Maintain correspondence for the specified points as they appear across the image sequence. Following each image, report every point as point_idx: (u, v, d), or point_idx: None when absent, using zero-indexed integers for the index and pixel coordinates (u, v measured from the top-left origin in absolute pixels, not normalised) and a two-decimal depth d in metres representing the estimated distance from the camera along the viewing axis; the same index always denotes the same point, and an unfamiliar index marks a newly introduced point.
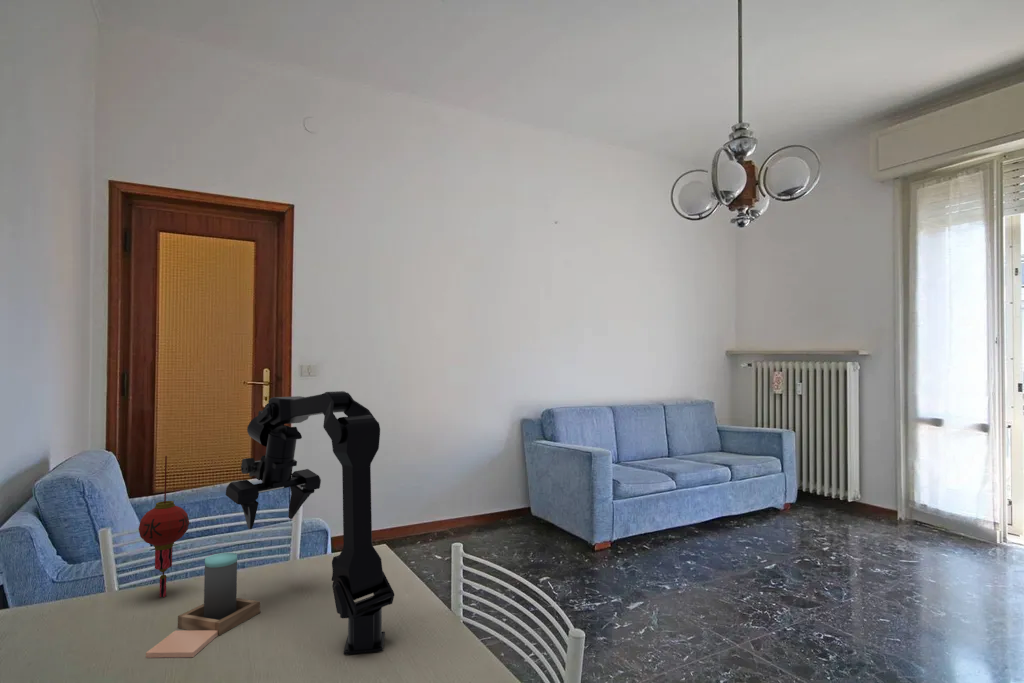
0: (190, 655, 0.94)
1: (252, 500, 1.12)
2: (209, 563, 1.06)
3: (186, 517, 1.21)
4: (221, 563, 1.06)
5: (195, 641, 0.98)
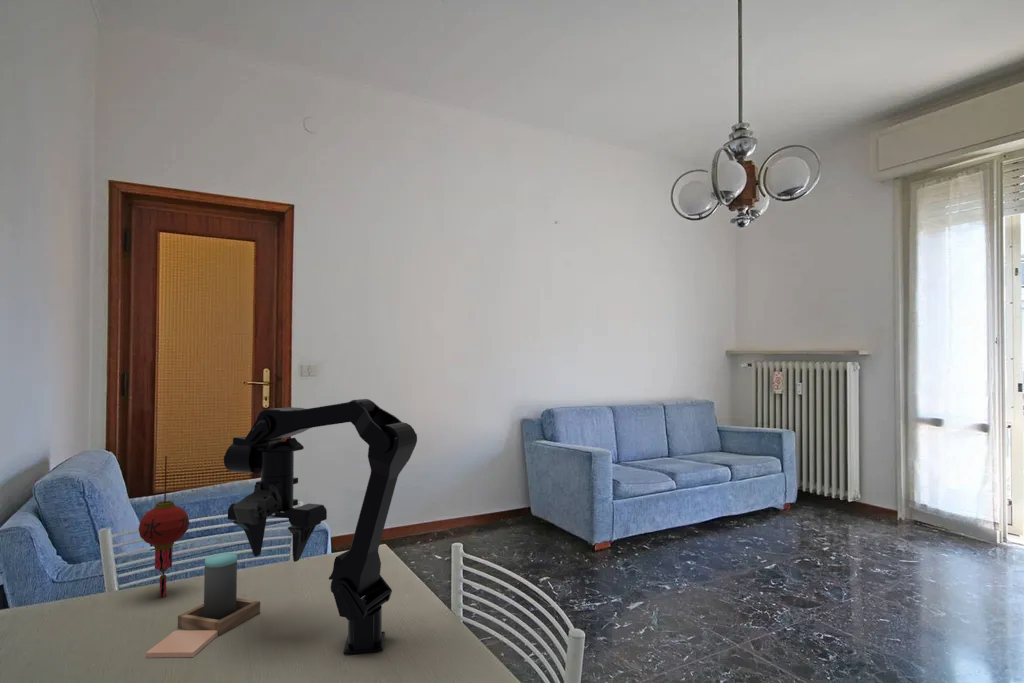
0: (190, 655, 0.94)
1: None
2: (209, 563, 1.06)
3: (186, 517, 1.21)
4: (221, 563, 1.06)
5: (195, 641, 0.98)
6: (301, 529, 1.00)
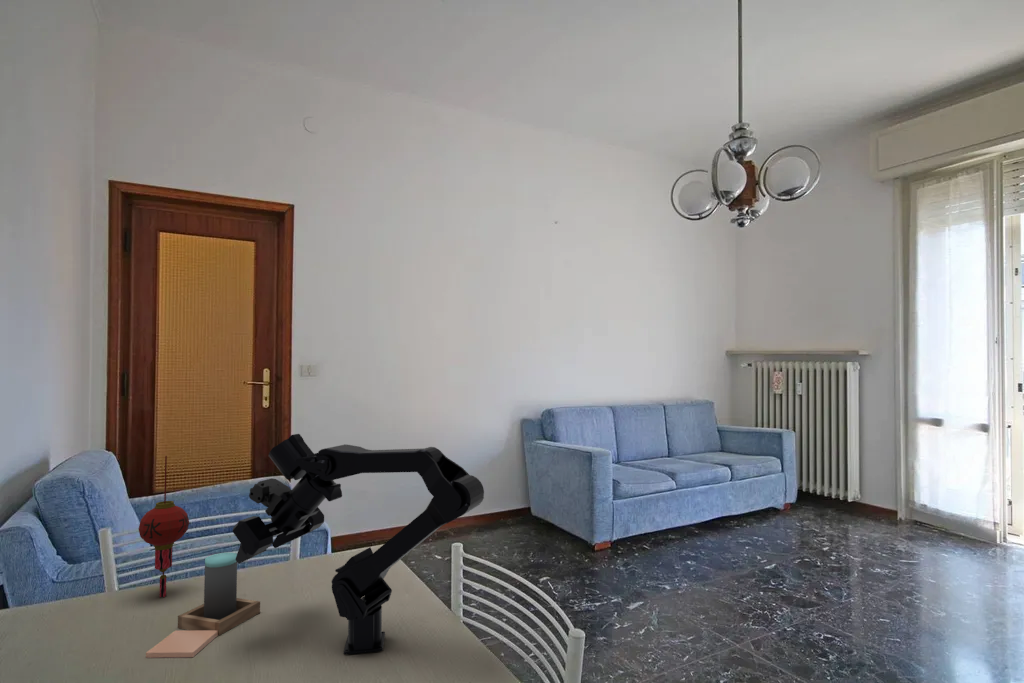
0: (190, 655, 0.94)
1: (263, 549, 0.97)
2: (209, 563, 1.06)
3: (186, 517, 1.21)
4: (221, 563, 1.06)
5: (195, 641, 0.98)
6: None
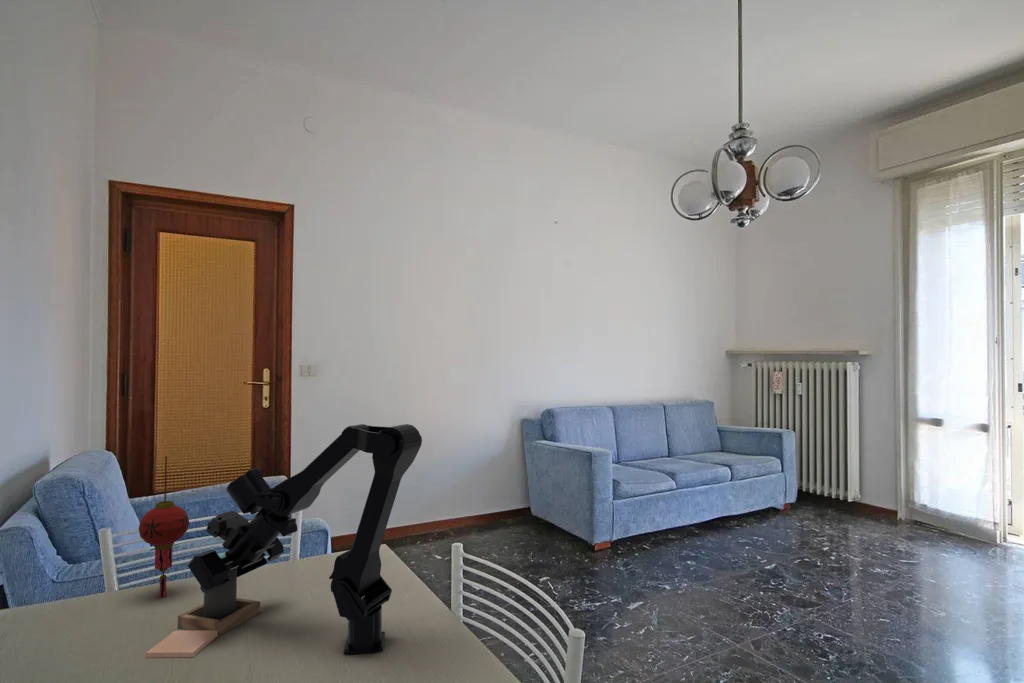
0: (190, 655, 0.94)
1: (218, 584, 1.00)
2: None
3: (186, 517, 1.21)
4: None
5: (195, 641, 0.98)
6: None
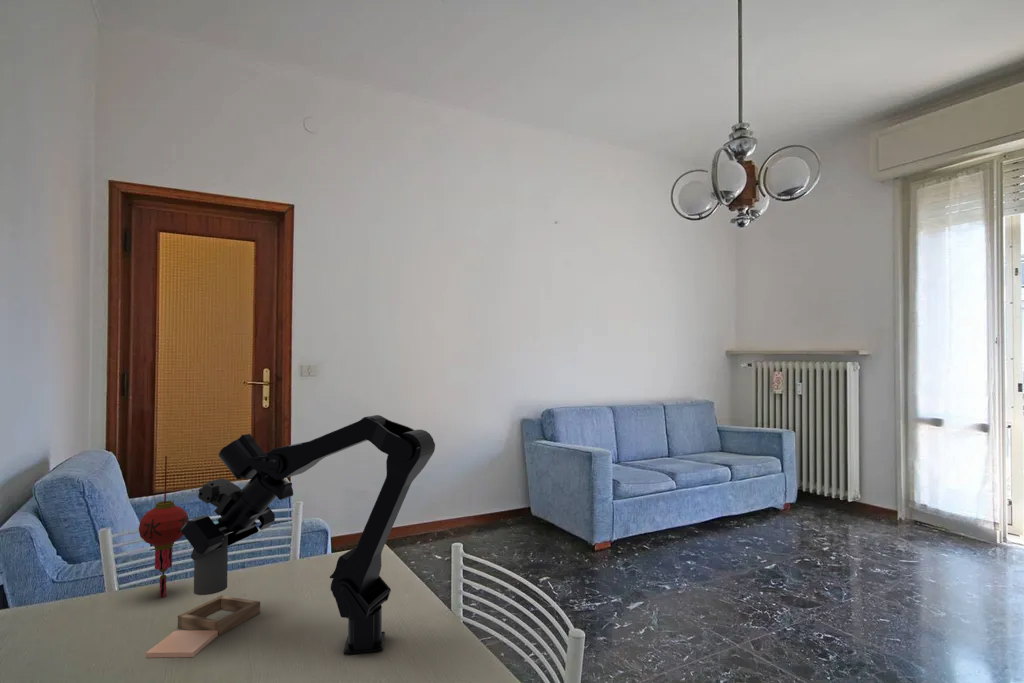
0: (190, 655, 0.94)
1: (213, 549, 0.98)
2: None
3: (186, 517, 1.21)
4: None
5: (195, 641, 0.98)
6: None
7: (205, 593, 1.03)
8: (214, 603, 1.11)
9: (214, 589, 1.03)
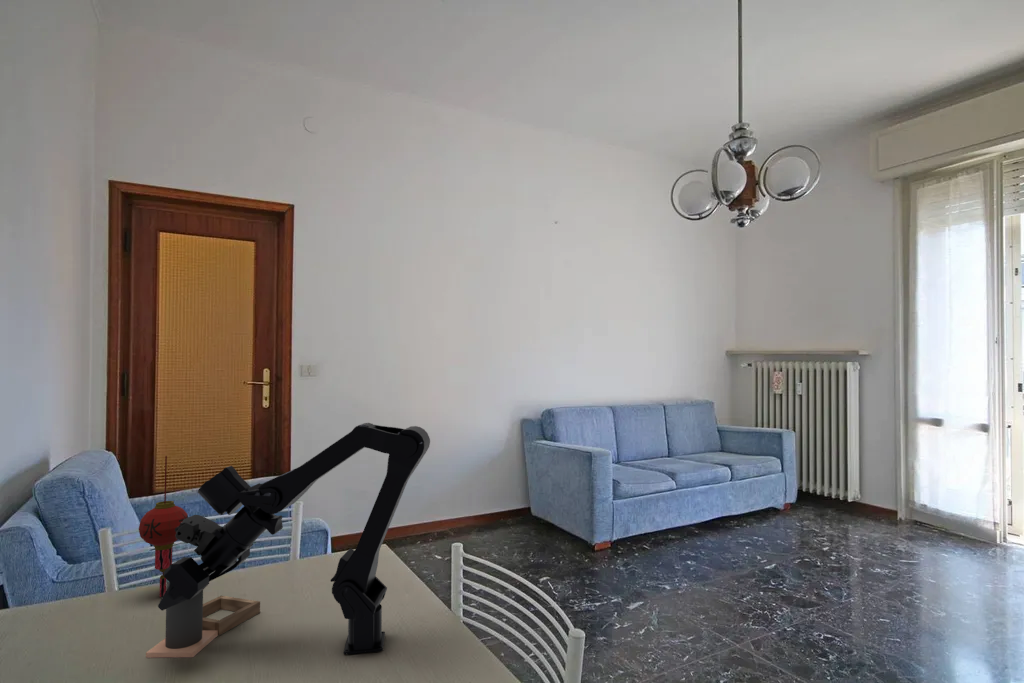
0: (190, 655, 0.94)
1: (199, 592, 0.92)
2: None
3: (186, 517, 1.21)
4: None
5: None
6: None
7: (181, 646, 0.95)
8: (214, 603, 1.11)
9: (191, 640, 0.96)
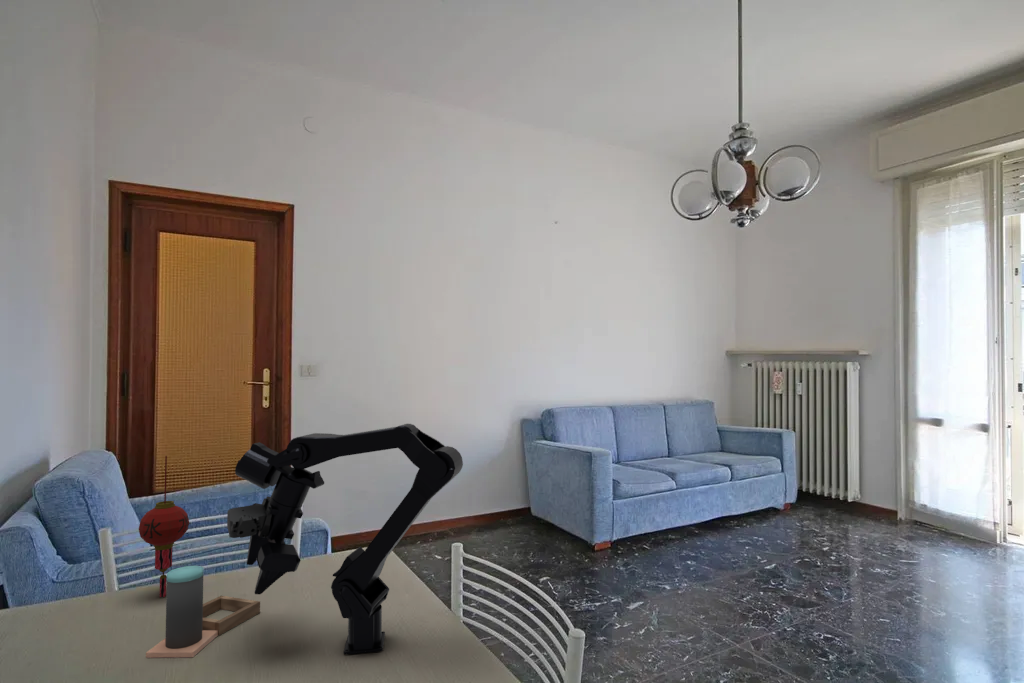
0: (190, 655, 0.94)
1: None
2: (176, 578, 0.96)
3: (186, 517, 1.21)
4: (190, 576, 0.97)
5: None
6: (260, 568, 0.93)
7: (181, 646, 0.95)
8: (214, 603, 1.11)
9: (191, 640, 0.96)
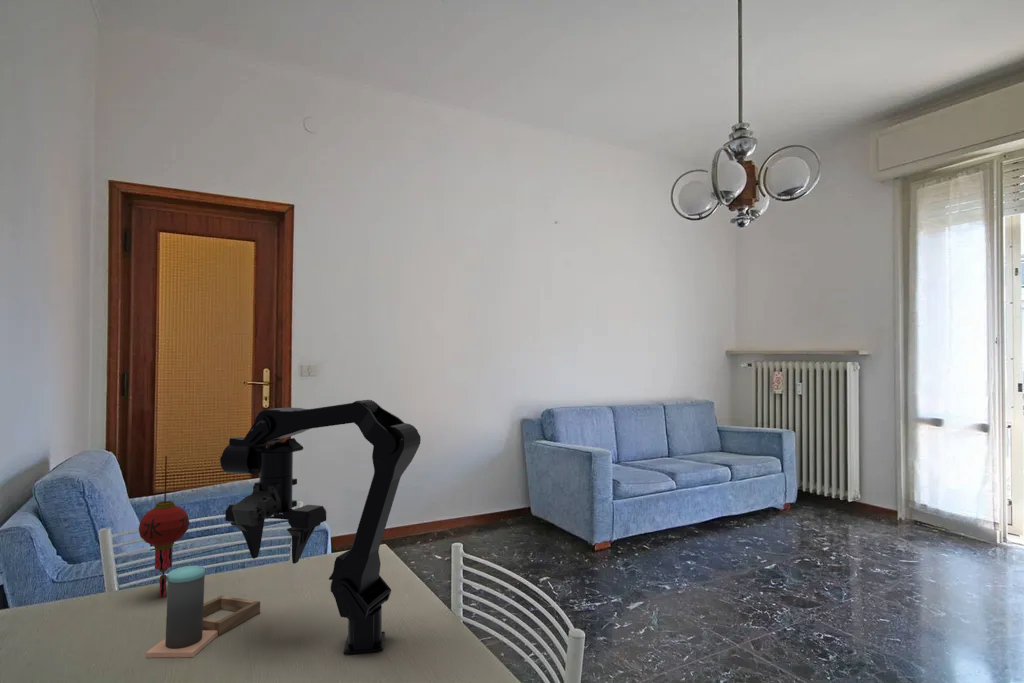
0: (190, 655, 0.94)
1: None
2: (177, 577, 0.96)
3: (186, 517, 1.21)
4: (191, 577, 0.97)
5: None
6: (301, 531, 0.99)
7: (181, 646, 0.95)
8: (214, 603, 1.11)
9: (191, 640, 0.96)
